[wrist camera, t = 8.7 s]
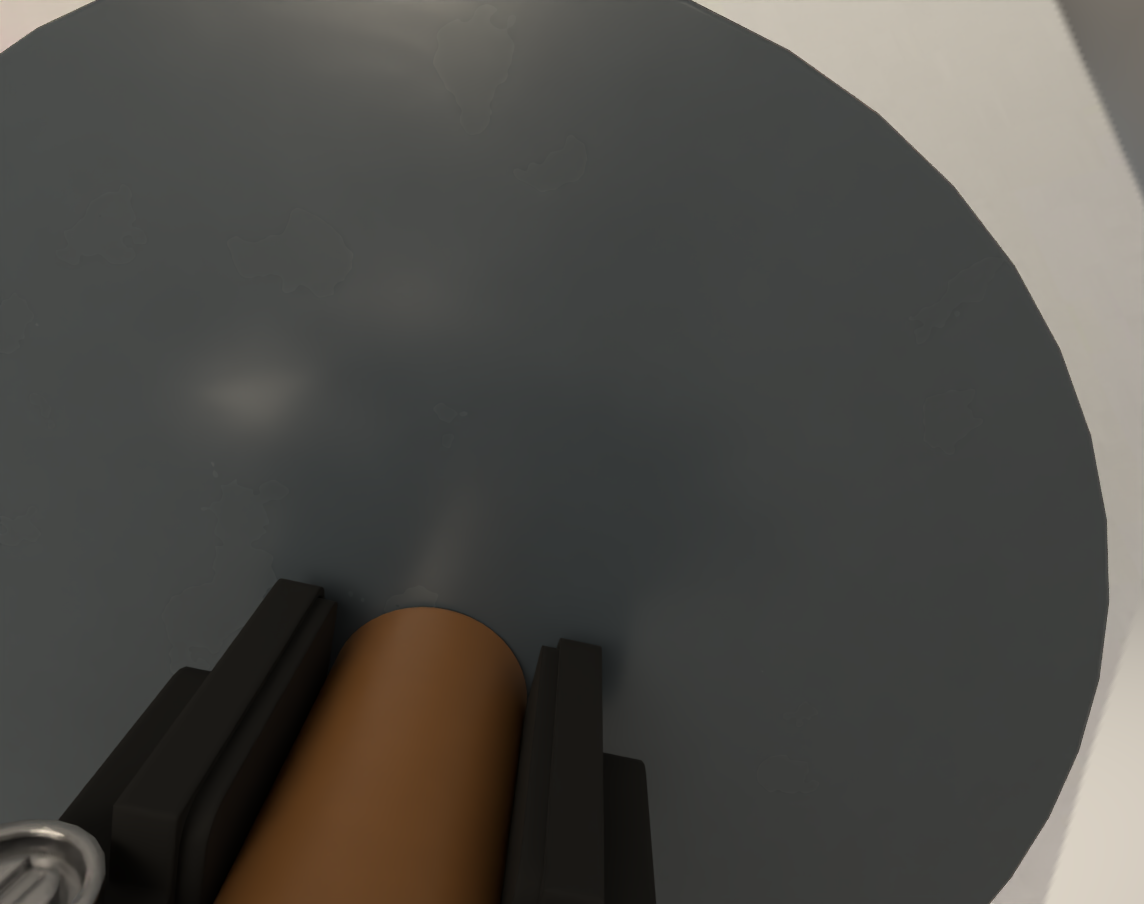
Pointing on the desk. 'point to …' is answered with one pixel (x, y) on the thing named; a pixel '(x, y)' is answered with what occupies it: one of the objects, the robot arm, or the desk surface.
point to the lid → (534, 441)
